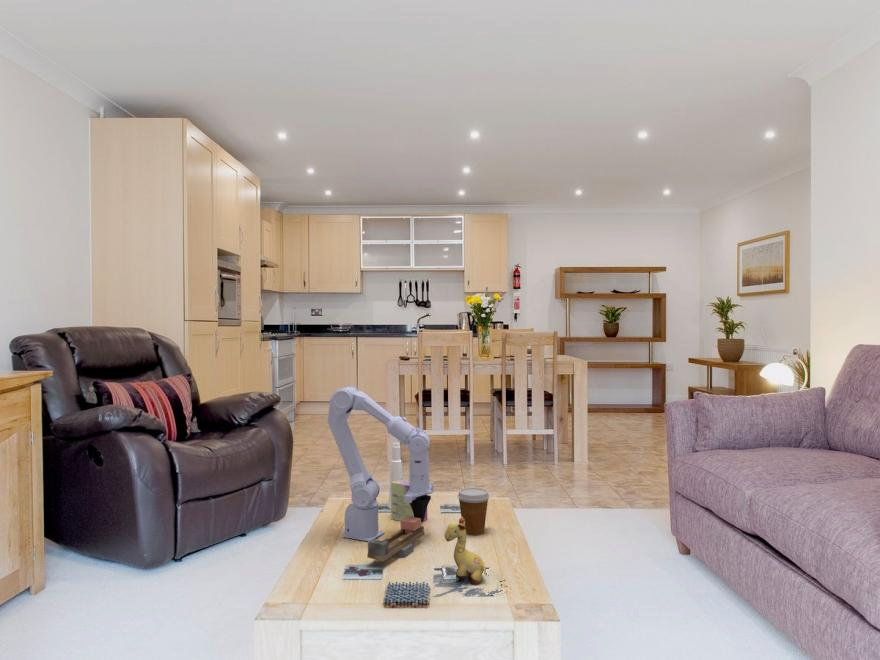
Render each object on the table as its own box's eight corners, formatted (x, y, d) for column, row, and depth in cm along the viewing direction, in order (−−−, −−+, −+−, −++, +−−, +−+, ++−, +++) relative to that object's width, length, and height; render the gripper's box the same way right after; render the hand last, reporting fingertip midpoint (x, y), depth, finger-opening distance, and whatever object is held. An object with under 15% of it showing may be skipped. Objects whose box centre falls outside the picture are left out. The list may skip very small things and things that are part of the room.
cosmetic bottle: (408, 506, 206) (407, 442, 206) (401, 511, 200) (401, 445, 200) (391, 504, 208) (391, 441, 208) (384, 509, 202) (384, 444, 202)
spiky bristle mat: (381, 610, 130) (381, 601, 130) (386, 589, 141) (386, 581, 141) (429, 610, 130) (429, 601, 130) (430, 589, 141) (430, 581, 141)
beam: (364, 564, 154) (364, 541, 155) (406, 538, 174) (406, 517, 174) (387, 569, 151) (387, 545, 151) (427, 541, 171) (427, 520, 171)
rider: (400, 533, 169) (400, 520, 169) (407, 529, 172) (407, 516, 172) (414, 535, 167) (414, 522, 167) (421, 531, 170) (421, 518, 170)
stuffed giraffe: (433, 569, 152) (435, 506, 151) (504, 571, 152) (506, 508, 151) (432, 599, 136) (435, 530, 135) (512, 602, 136) (514, 532, 135)
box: (428, 520, 191) (427, 482, 191) (417, 525, 186) (417, 486, 186) (401, 514, 197) (401, 478, 197) (390, 519, 192) (390, 482, 192)
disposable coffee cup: (453, 534, 177) (452, 494, 177) (464, 525, 186) (463, 486, 186) (483, 539, 173) (483, 497, 173) (493, 528, 182) (493, 489, 182)
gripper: (419, 481, 166) (419, 530, 166) (442, 470, 179) (442, 516, 179) (397, 479, 169) (397, 527, 169) (421, 468, 182) (421, 513, 182)
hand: (419, 521), depth 174 cm, fingers closed
